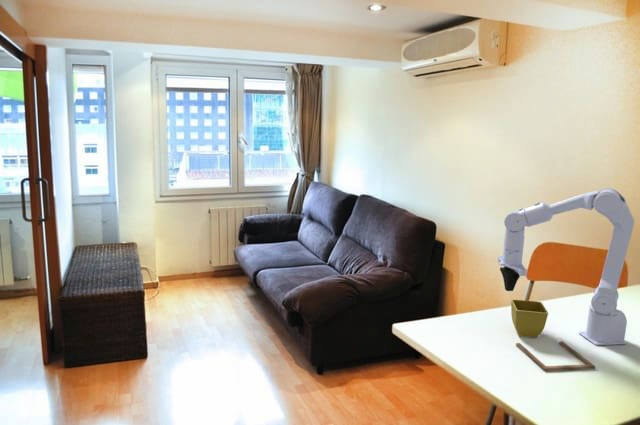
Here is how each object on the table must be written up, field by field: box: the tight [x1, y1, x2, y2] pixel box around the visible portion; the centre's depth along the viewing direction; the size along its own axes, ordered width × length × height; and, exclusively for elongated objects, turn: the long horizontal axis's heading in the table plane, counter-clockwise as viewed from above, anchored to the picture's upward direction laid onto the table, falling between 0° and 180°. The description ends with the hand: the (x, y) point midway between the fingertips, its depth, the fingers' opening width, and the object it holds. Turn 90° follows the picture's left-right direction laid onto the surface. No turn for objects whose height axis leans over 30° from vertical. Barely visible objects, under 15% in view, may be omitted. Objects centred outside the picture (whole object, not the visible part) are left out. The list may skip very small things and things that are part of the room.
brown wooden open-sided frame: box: [515, 340, 596, 372], centre depth 130 cm, size 14×14×1 cm
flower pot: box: [510, 299, 549, 339], centre depth 143 cm, size 9×9×9 cm
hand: (509, 290), depth 154 cm, fingers closed
